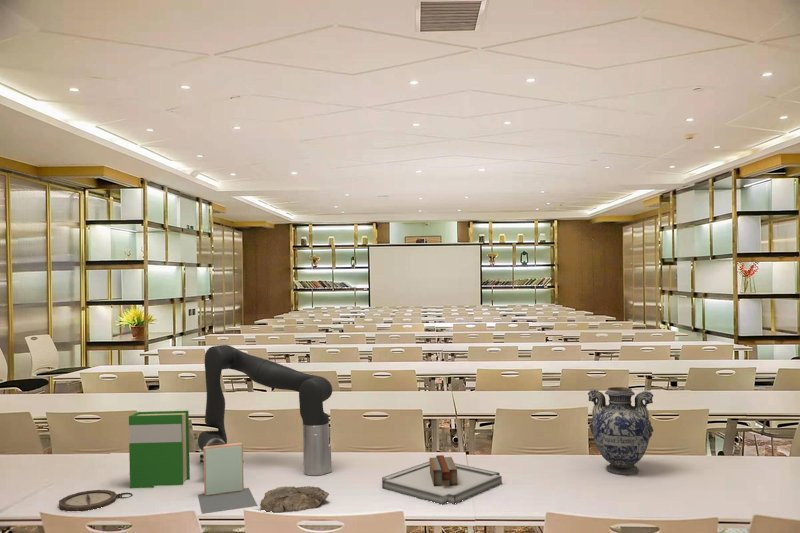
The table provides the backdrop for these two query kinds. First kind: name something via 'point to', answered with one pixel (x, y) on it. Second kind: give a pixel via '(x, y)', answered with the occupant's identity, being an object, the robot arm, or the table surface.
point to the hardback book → (159, 448)
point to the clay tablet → (292, 498)
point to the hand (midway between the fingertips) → (221, 463)
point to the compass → (89, 500)
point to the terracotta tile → (223, 469)
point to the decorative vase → (621, 428)
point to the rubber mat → (226, 501)
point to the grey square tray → (441, 481)
